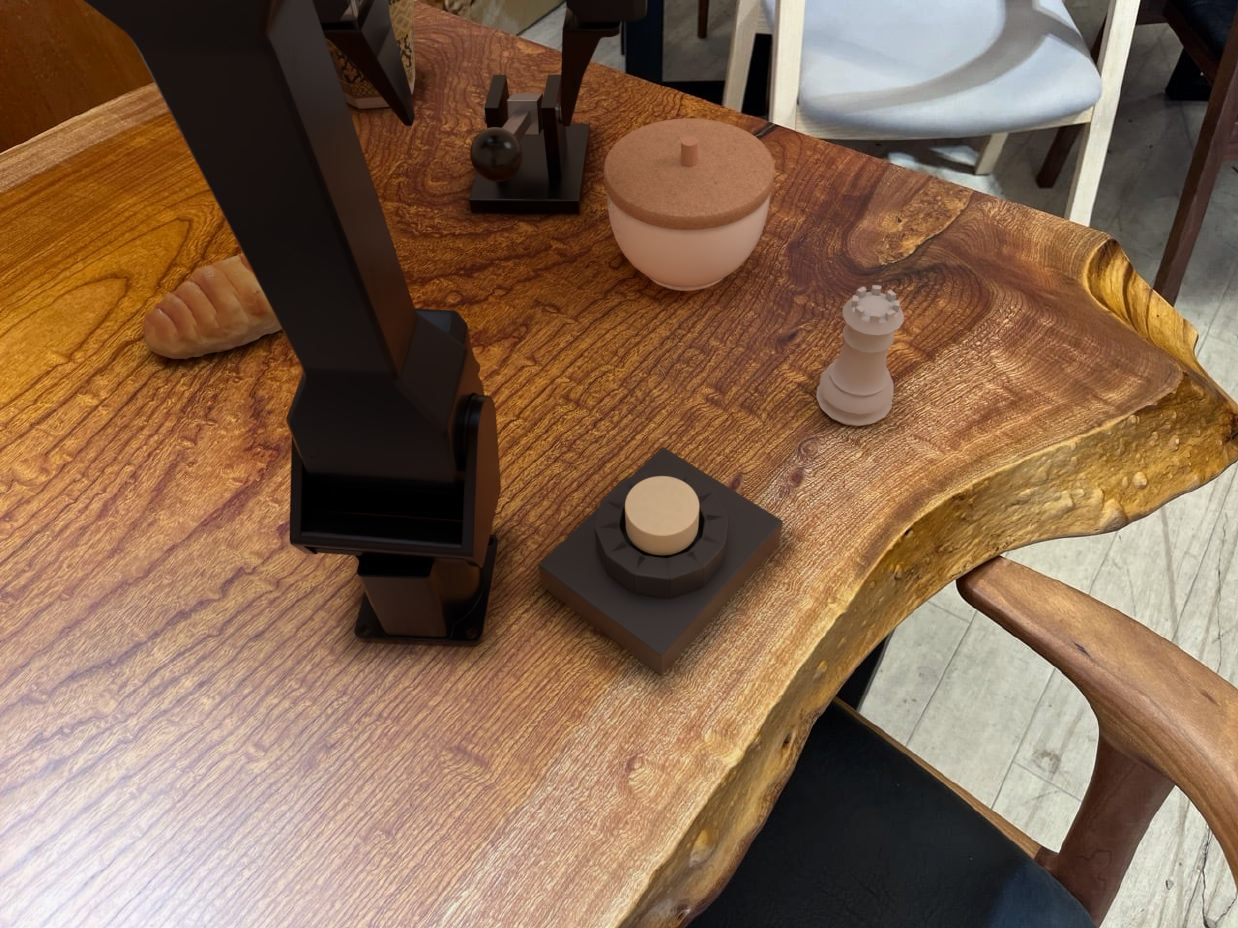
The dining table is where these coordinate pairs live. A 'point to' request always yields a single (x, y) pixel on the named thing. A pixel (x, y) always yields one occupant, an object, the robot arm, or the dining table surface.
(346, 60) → the ceramic cup
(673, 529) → the button
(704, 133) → the trinket box
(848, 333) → the rook chess piece
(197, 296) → the pastry
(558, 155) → the lever bracket
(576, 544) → the button housing
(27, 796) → the dining table surface
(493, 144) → the lever handle
